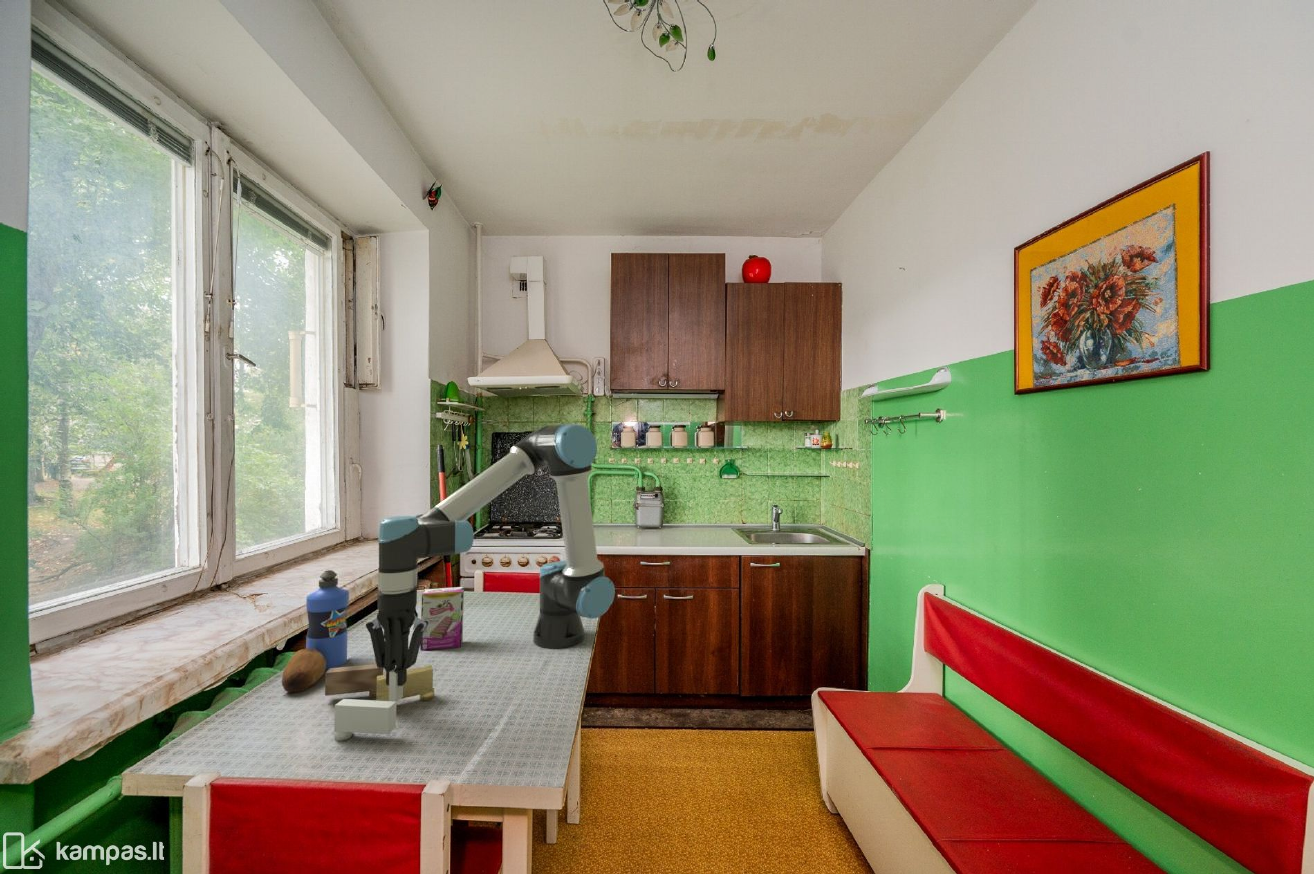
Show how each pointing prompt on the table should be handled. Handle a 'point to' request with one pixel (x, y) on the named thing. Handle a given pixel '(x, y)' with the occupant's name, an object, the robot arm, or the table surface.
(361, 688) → the lever
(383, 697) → the lever
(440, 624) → the candy bar box
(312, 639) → the water bottle
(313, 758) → the table surface
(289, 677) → the potato
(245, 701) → the table surface
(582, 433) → the robot arm
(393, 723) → the light grey boxy piece
